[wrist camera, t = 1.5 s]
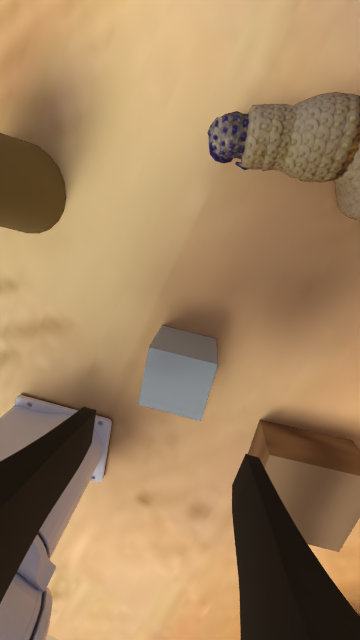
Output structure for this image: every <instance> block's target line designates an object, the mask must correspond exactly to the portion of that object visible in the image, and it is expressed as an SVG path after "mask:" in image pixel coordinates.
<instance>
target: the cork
mask: <svg viewBox="0 0 360 640" xmlns="http://www.w3.org/2000/svg"><path fill="white" fill-rule="evenodd" d="M65 200H66V193H65V184H64V180H63V178H62V175H61V172H60V170H59V168H58V166H57V165H56V163H55V162H54V161H53V159H52V158H51V156H50V155H49V154H47V153H46V152H45V151H43V150H42V149H41V148H40V147H38V146H36V145H33V144H30V143H28V142H25V141H22V140H19V139H16V138H13V137H10V136H8V135H5V134H2V133H0V226H1V227H5V228H9V229H13V230H17V231H21V232H25V233H41V232H44V231H46V230H49V229H50V228H52V227H53V226H54V225H55V224H56V223H57V222H58V221H59V219H60V217H61V215H62V213H63V211H64V206H65Z"/></svg>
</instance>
